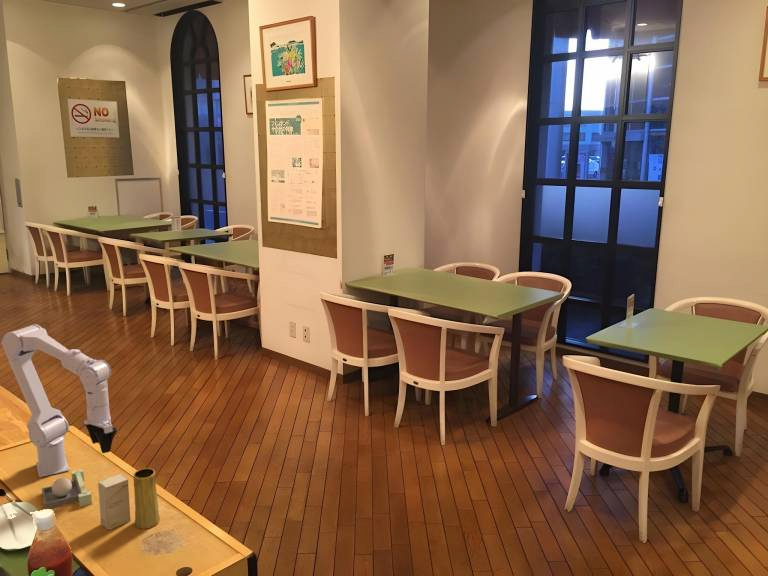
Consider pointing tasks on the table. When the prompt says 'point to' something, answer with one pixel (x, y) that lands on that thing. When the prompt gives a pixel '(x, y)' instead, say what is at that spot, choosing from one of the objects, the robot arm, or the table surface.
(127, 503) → the skincare box
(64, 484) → the ball
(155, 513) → the vase
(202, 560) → the table surface
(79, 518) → the table surface
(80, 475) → the rail
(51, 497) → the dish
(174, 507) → the table surface
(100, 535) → the table surface
